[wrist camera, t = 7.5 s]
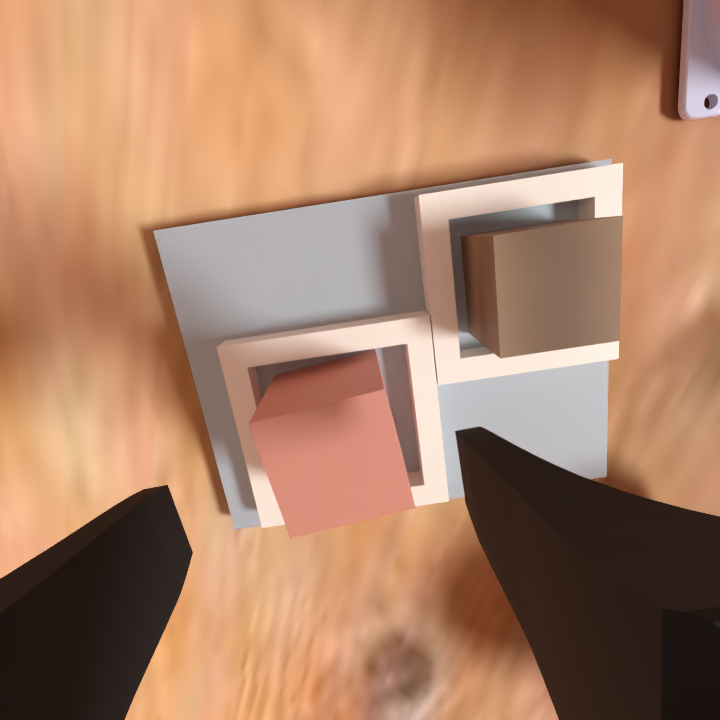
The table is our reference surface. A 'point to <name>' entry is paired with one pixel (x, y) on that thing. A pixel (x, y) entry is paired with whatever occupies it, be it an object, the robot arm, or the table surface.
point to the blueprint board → (385, 325)
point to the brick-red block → (331, 445)
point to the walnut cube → (544, 285)
